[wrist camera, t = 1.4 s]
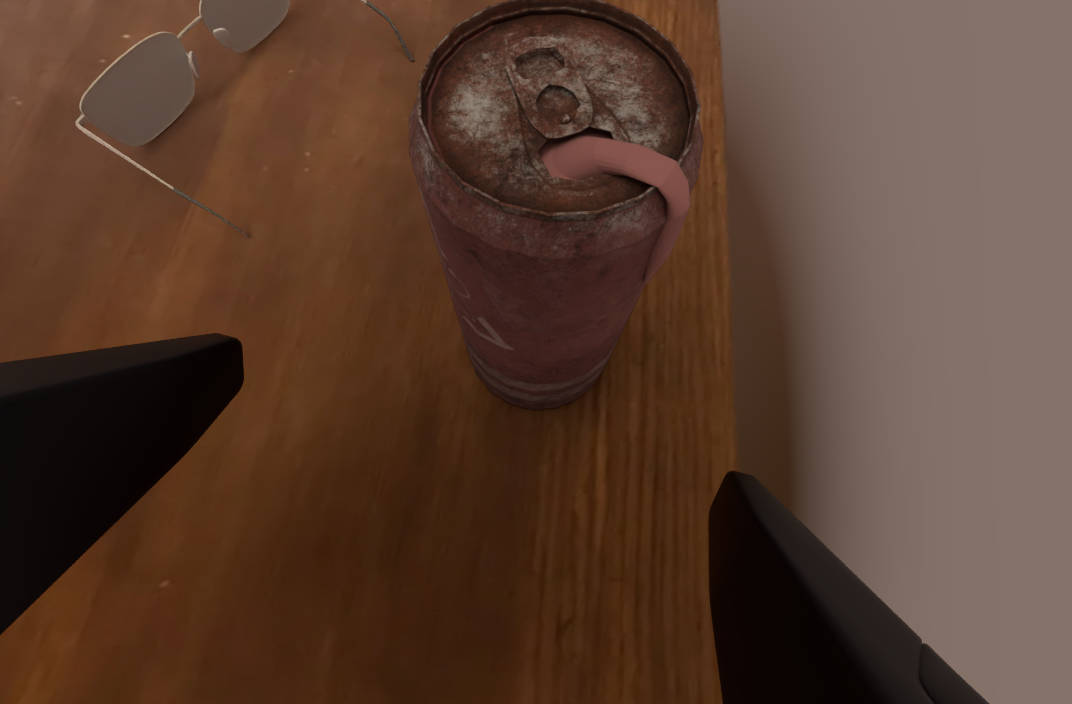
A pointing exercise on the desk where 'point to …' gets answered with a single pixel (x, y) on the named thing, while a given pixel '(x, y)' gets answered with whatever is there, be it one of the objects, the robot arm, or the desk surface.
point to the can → (552, 183)
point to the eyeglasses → (173, 74)
